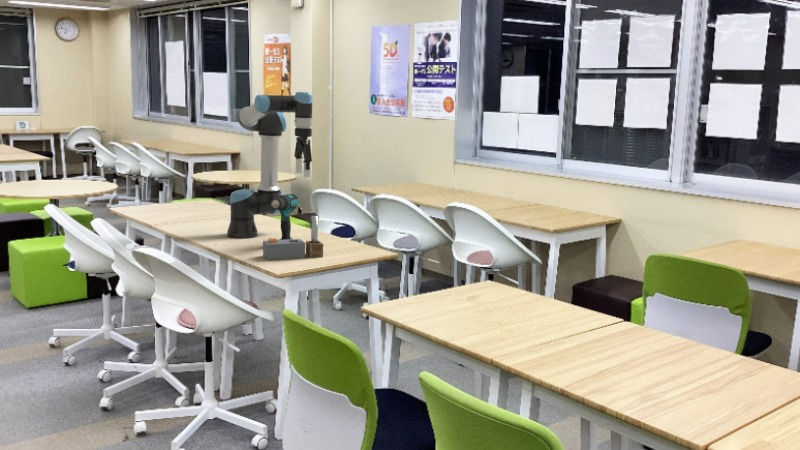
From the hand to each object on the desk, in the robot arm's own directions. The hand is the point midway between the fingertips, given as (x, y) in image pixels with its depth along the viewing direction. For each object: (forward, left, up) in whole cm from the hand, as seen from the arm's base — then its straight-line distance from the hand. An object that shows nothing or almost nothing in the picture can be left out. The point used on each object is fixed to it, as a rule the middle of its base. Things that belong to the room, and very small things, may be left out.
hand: (302, 175), depth 322 cm
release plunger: (+3, -14, -36) cm, 39 cm away
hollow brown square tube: (+3, +5, -36) cm, 37 cm away
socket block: (+3, -9, -36) cm, 37 cm away
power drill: (-18, -5, -37) cm, 41 cm away
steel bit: (+3, +5, -36) cm, 37 cm away
